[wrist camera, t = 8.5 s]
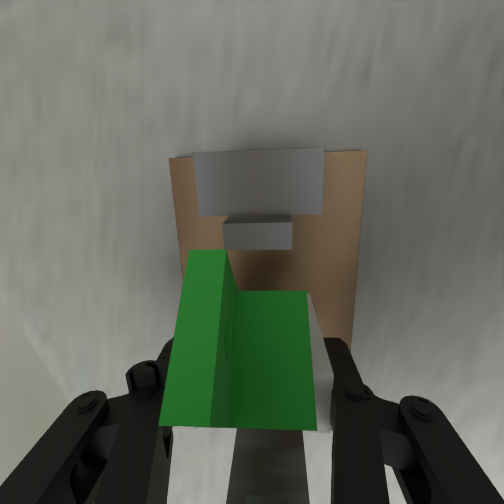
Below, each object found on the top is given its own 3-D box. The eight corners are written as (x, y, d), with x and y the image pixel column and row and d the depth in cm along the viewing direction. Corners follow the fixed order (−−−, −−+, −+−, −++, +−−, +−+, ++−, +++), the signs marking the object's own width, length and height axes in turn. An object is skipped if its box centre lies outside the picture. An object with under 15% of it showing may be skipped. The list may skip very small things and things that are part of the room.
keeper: (359, 151, 15) (455, 140, 7) (340, 415, 20) (381, 578, 12) (176, 158, 16) (75, 156, 8) (204, 410, 21) (161, 558, 13)
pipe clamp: (295, 342, 18) (299, 430, 15) (235, 341, 18) (230, 427, 16) (316, 247, 8) (336, 440, 6) (188, 248, 8) (156, 433, 6)
